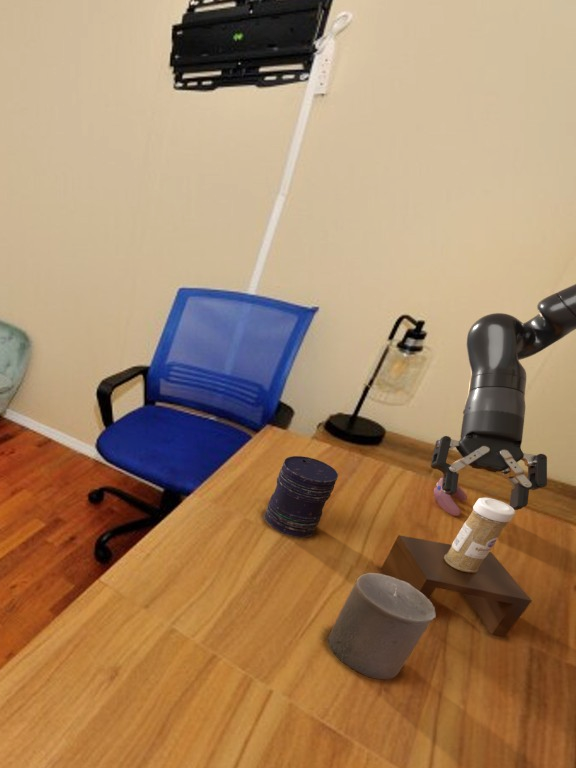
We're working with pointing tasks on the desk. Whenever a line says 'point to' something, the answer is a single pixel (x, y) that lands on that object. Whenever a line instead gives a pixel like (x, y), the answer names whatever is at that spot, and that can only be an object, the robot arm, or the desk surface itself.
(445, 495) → the video game controller
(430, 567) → the shelf
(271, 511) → the navy ridged cylinder
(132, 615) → the desk surface
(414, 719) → the desk surface
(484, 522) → the sprinkles bottle
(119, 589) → the desk surface
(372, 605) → the pillar candle
